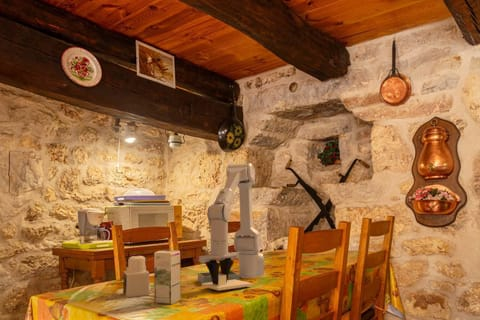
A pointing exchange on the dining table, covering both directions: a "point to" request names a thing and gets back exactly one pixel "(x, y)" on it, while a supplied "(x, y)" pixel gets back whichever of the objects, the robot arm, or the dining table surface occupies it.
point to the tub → (232, 276)
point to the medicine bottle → (136, 277)
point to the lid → (223, 285)
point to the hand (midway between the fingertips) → (219, 283)
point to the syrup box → (166, 277)
